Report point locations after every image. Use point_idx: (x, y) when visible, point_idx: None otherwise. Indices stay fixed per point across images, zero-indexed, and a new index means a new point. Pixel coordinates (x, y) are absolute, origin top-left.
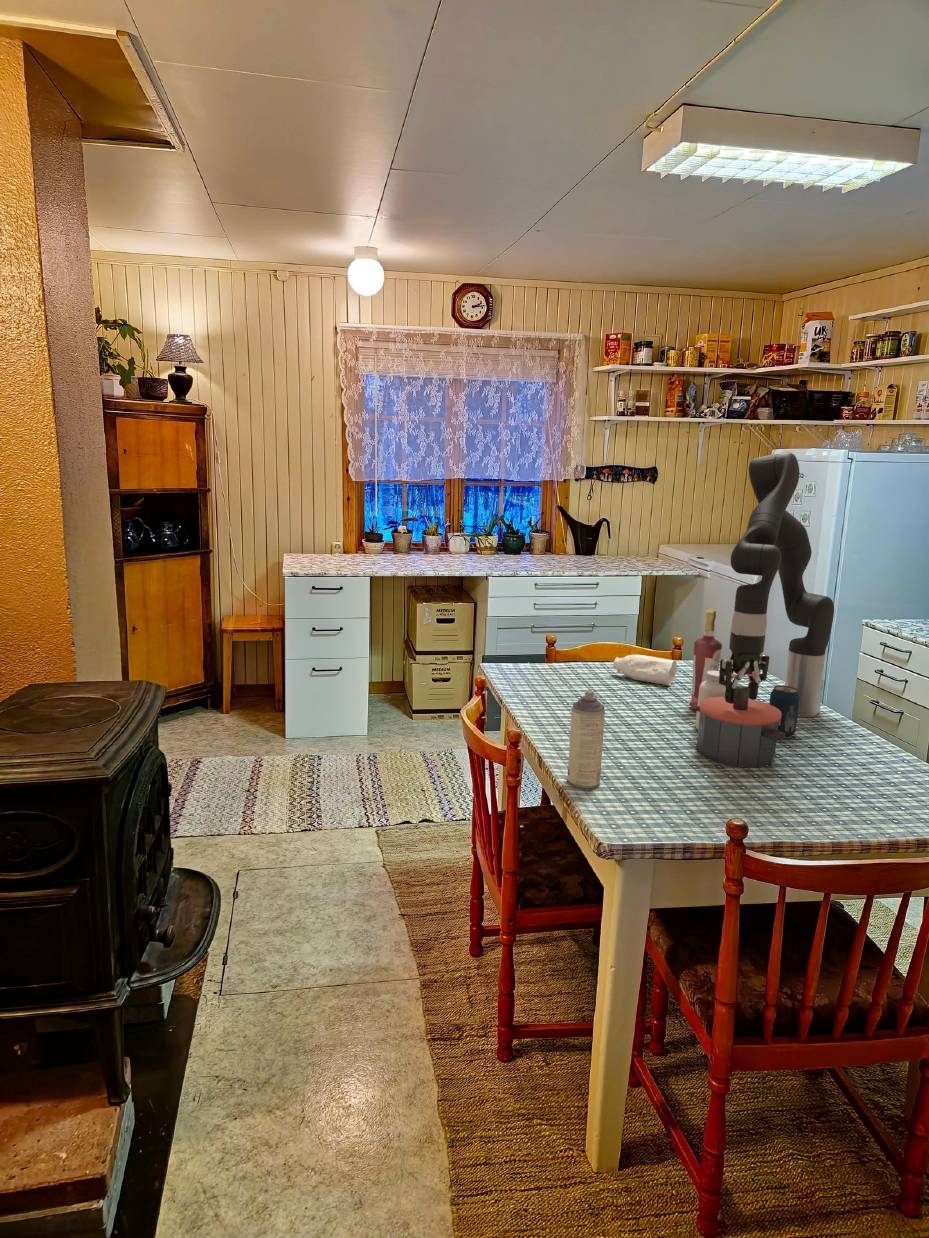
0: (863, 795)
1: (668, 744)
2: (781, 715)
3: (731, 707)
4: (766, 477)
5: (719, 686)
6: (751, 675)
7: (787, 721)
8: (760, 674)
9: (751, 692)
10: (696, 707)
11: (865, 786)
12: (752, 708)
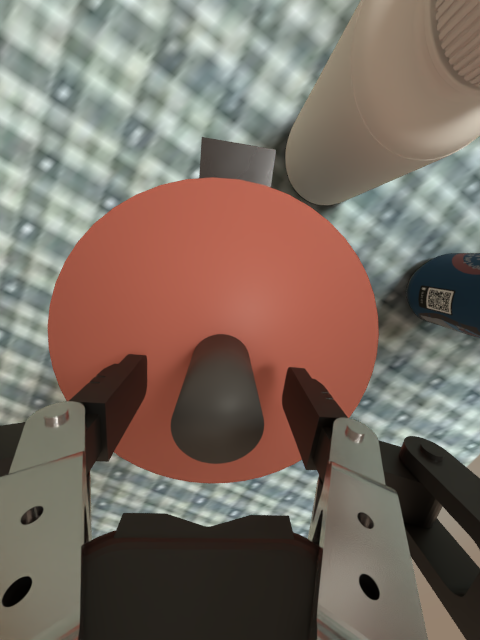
0: (245, 513)
1: (117, 171)
2: (455, 315)
3: (194, 338)
4: None
5: (420, 92)
6: (315, 518)
7: (446, 324)
8: (439, 505)
9: (294, 404)
10: (202, 142)
11: (281, 499)
12: (261, 385)
